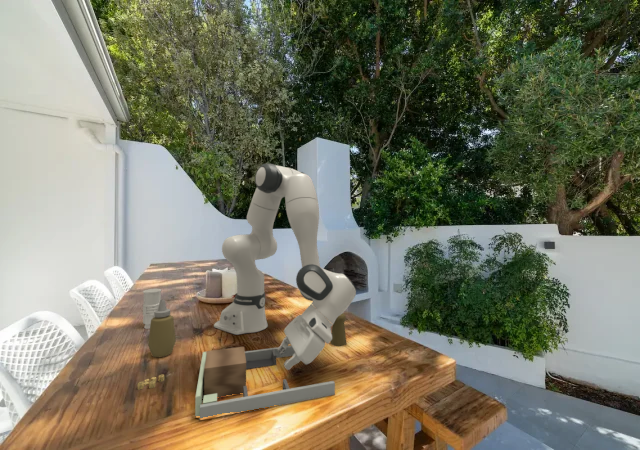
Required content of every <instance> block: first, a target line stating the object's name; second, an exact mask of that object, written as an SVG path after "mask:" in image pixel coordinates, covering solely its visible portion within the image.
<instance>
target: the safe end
mask: <svg viewBox="0 0 640 450" xmlns="http://www.w3.org/2000/svg"><path fill="white" fill-rule="evenodd" d="M201 356H202V357H201V361H200V368H199V374H198V381H197V386H196V392H195V397H194V398H195V402H194V404H195V408H194V409H195V410H194V411H195V414H194V417H195V416H200V405H202V404H208V403H213V402H218V398H217V393H215V394H210V395H204V392H203V391H204V368H205V362H206V356H207V351H202V355H201ZM202 399H203V400H202Z"/></svg>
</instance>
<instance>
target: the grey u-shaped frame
mask: <svg viewBox="0 0 640 450" xmlns="http://www.w3.org/2000/svg"><path fill="white" fill-rule="evenodd" d="M278 348H279V346H278V347H270V348H262V349H254V350H246V351H245V357H246V371H247V370H251V369H260V368H266V367H272V366H277V362H278V361H277V359H278V358H279V359H280V358H286V357H287V358H288V357H293V354H294V353H295V351H294V349H293V348H292V346H291V345H288V346H287V348H286V351H285V352H284V353H283V354H280V353H279V352H278ZM335 391H336V383H335V381H334V380H330V381H326V382H325V381H324V382H319V383H314V384H309V385H303V386H298V387H291V388H290V386H289V384H288V381H287V379H285V378H284V379H282V389H281V390H274V391H271V392H265V393H264V392H263V393H259V394H253V395H249V393H248V385H246V386H243V394H242V397H235V398H231V399H225V400H220V401H217V402H213V403H208V404H203V403H202V405H200V418H203V417H208V416H213V415H217V414H222V413H230V412H241V411H247V410H254V409H259V408H264V409H266V408H265V407H269V408H271V407H270V406H274V405H279V406H283V405H288V404H294V403H299V402H303V401H304V402H305V401H309V400H315V399H318V398H325V397H330V396H334V395H335V393H336V392H335ZM282 404H283V405H282ZM274 407H275V406H274ZM259 410H260V409H259ZM254 411H255V410H254ZM200 418H199V419H200Z"/></svg>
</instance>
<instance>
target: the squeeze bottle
mask: <svg viewBox="0 0 640 450" xmlns="http://www.w3.org/2000/svg"><path fill="white" fill-rule="evenodd" d="M165 300H166V299H165V298H163V299H162V298H161V300H160V304H159V308H158V310H156V311H155V312H154V318H153V319H152V320H151V324H150V329H149V334H148V342H147V346H148V349H149V351H150V354H151V356H152V357H153V358H163V357H166V356H168V355H170V354H171V353H173V350H174V347H175V344H176V340H177V339H176V331H175V322H174V316H173V315H172V314H171V308H168V307H167V305H166V301H165Z"/></svg>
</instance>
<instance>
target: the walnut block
mask: <svg viewBox="0 0 640 450" xmlns="http://www.w3.org/2000/svg"><path fill="white" fill-rule="evenodd" d="M206 352H207V356H206V362H205V368H204V392H203V396H204V395H210V394H215V393H217V397H221V396H226V395H232V394H239V395H241V394H240V393H243V386H247V370H246V357H245V352H246V351H245V346H240V347H239V346H237V347H231V348H222V349H221V348H220V349H214V350H207V351H206ZM221 398H222V397H221Z"/></svg>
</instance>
